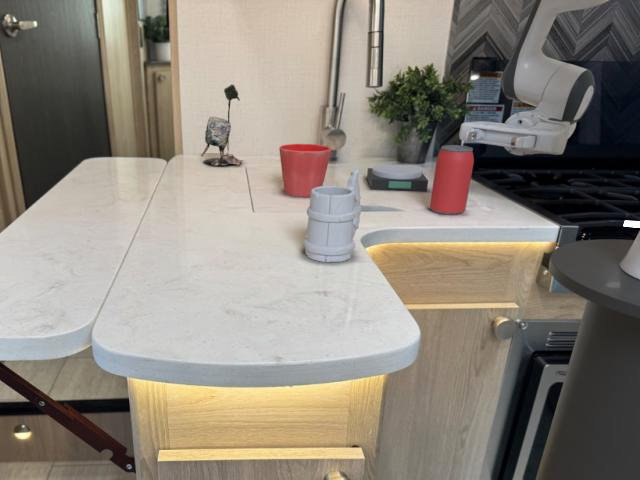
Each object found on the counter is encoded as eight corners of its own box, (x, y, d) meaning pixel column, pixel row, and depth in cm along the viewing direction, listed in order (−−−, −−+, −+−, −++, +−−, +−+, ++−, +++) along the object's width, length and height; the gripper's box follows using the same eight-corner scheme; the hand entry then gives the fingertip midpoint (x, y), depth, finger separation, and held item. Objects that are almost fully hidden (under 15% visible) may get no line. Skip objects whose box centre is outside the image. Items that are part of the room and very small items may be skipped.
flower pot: (309, 185, 128) (311, 141, 123) (337, 195, 119) (341, 149, 115) (269, 190, 123) (270, 144, 119) (295, 201, 114) (297, 153, 110)
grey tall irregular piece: (208, 160, 155) (207, 83, 146) (247, 163, 151) (248, 84, 143) (197, 165, 148) (194, 85, 139) (237, 168, 144) (237, 86, 136)
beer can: (422, 210, 108) (431, 147, 103) (440, 204, 112) (449, 143, 107) (454, 217, 104) (465, 152, 99) (471, 211, 108) (482, 147, 103)
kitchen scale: (417, 179, 133) (419, 164, 132) (427, 191, 122) (429, 175, 120) (366, 178, 135) (368, 163, 133) (371, 190, 123) (372, 174, 122)
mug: (293, 255, 85) (296, 176, 80) (335, 237, 93) (340, 164, 88) (335, 267, 80) (342, 184, 75) (376, 247, 88) (384, 171, 83)
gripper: (481, 112, 124) (446, 117, 116) (579, 122, 109) (546, 129, 101) (476, 142, 126) (441, 148, 119) (570, 155, 112) (538, 164, 104)
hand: (490, 139), depth 110 cm, fingers open, 8 cm apart
